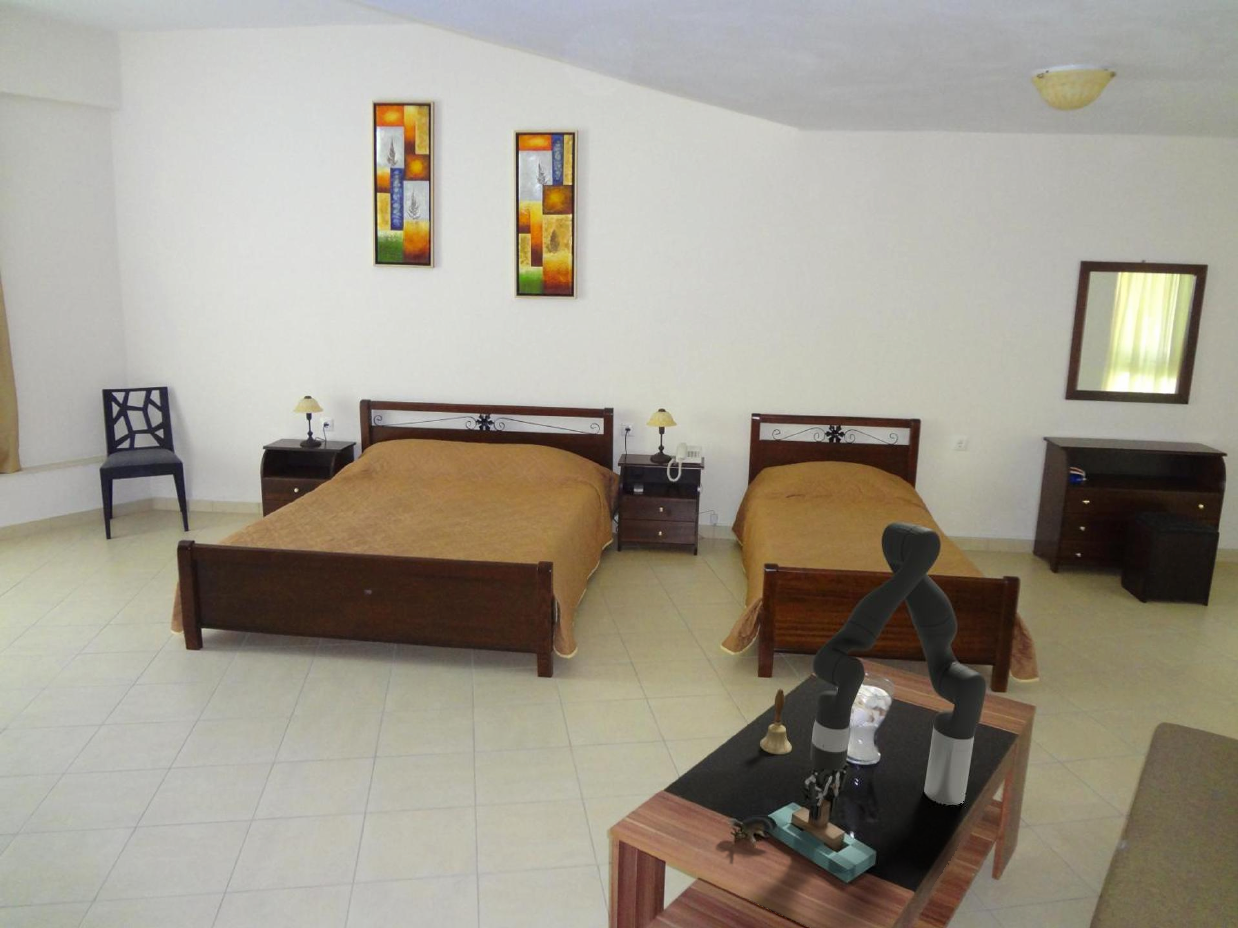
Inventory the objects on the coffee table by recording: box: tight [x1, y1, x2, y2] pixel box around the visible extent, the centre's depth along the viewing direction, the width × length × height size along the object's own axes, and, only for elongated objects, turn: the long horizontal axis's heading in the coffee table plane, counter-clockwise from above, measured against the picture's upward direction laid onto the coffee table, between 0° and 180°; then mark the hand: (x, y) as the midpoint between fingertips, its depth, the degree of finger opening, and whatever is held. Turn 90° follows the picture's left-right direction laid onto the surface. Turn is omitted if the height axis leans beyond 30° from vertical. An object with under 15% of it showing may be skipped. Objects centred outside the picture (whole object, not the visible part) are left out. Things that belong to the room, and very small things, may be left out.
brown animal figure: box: [728, 814, 777, 847], centre depth 191 cm, size 8×7×9 cm
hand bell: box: [759, 688, 793, 755], centre depth 230 cm, size 8×8×16 cm
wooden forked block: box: [791, 796, 846, 853], centre depth 190 cm, size 11×4×10 cm, turn 40°
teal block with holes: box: [766, 801, 877, 884], centre depth 190 cm, size 22×10×3 cm, turn 41°
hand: (821, 813), depth 189 cm, fingers open, 4 cm apart
